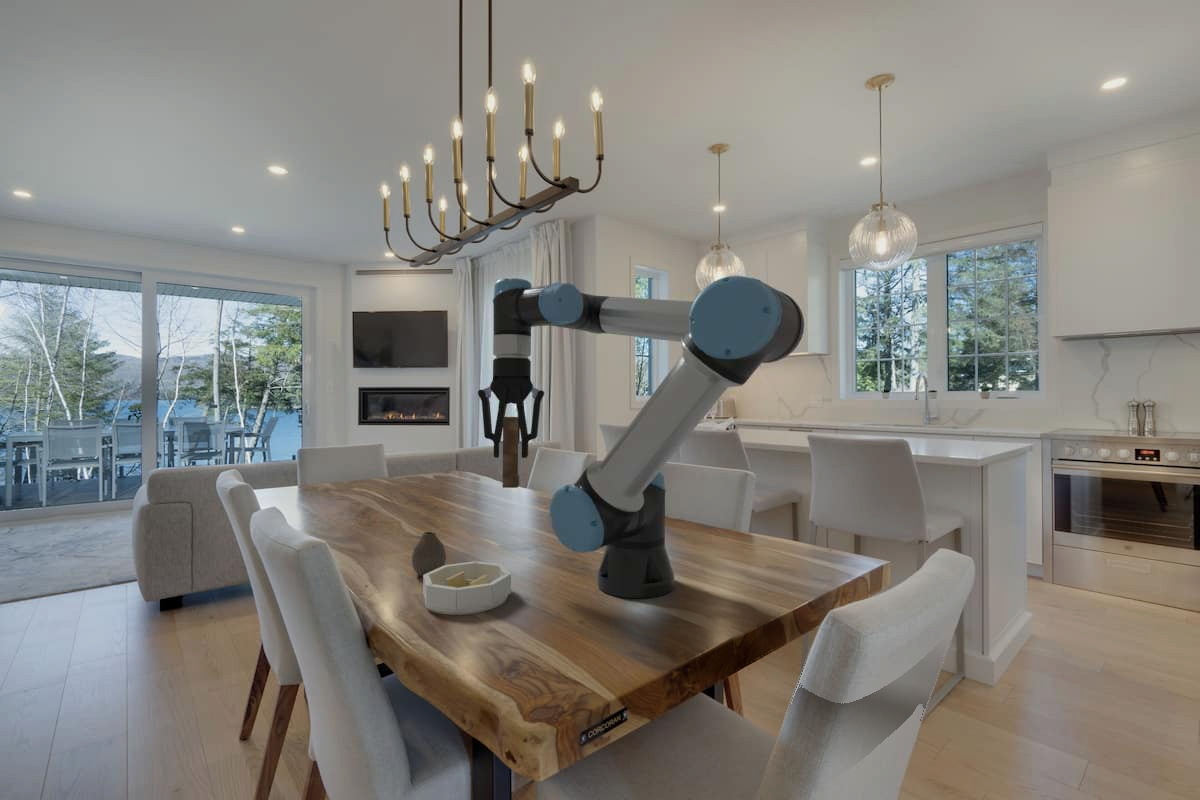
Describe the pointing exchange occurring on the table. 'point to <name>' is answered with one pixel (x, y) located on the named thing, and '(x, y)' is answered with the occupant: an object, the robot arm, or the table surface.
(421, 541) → the vase
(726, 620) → the table surface
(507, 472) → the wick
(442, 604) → the white octagonal bowl
